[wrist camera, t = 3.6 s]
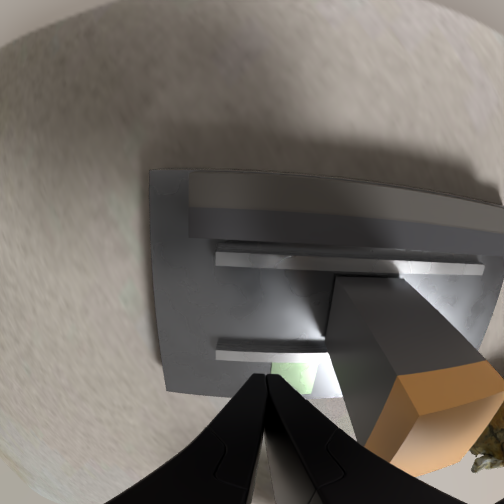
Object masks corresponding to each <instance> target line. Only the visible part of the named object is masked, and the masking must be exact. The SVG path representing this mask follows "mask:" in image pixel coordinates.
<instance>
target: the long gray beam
mask: <svg viewBox="0 0 504 504" xmlns="http://www.w3.org/2000/svg"><path fill="white" fill-rule="evenodd" d="M188 236H189V238H203V239H225V240H245V241H265V242H285V243H303V244H321V245H339V246H356V247H372V248H388V249H404V250H419V251H434V252H449V253H463V254H477V255H490V256H503V257H504V208H502V207H499V206H495V205H490V204H486V203H481V202H477V201H472V200H467V199H462V198H457V197H452V196H447V195H441V194H436V193H430V192H424V191H418V190H412V189H406V188H399V187H393V186H385V185H378V184H371V183H363V182H354V181H345V180H336V179H326V178H316V177H304V176H292V175H277V174H261V173H240V172H209V171H194V172H190V173H189V212H188Z"/></svg>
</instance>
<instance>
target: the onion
mask: <svg viewBox="0 0 504 504" xmlns="http://www.w3.org/2000/svg"><path fill="white" fill-rule="evenodd" d="M469 450H470V451H471V453H472V454H474V455H476V457H477V455H478V454H483V455H484V456H482V457H480V458H477V459H475V462H474V464H473V466H472V468H471V471H472V472H473V473H478V472H479V471H481V470H482V469H484V468H485V469H493V468H500V467H504V401H503V403H502V404H501V406H500V407H499V409H498V411H497V412H496V414H495V415H494V417H493V418H492V420H491V421H490V423H489V424H488V425H487V427H486V428H485V430H484V431H483V432H482V434H481V435H480V436H479V438H478V439H477V440H476V442H475V443H474V444H473V446H472V447H471V448H470V449H469Z"/></svg>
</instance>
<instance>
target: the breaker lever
mask: <svg viewBox="0 0 504 504" xmlns="http://www.w3.org/2000/svg"><path fill="white" fill-rule="evenodd" d="M324 343H325V345H326V348H327V351H328V354H329V357H330V360H331V363H332V366H333V369H334V371H335V374H336V377H337V380H338V383H339V386H340V389H341V392H342V395H343V398H344V401H345V404H346V407H347V410H348V414H349V417H350V420H351V423H352V426H353V429H354V432H355V436H356V439H357V442H358V443H359V444H361V445H362V446H364V447H365V448H366V449H368V450H370V451H371V452H373V453H374V454H376V455H377V456H379V457H381V458H382V459H384V460H386V461H387V462H389V463H391V464H392V465H394V466H396V467H398V468H399V469H401V470H403V471H404V472H406V473H408V474H410V475H412V476H413V477H417V476H420V475H424V474H427V473H430V472H433V471H436V470H439V469H442V468H445V467H447V466H450V465H453V464H455V463H458V462H460V460H461V459H462V458H463V457H464V456H465V454H466V453H467V451H469V449H470V448H471V447H472V446H473V444H474V443H475V442H476V440H477V439H478V438H479V436H480V435H481V434H482V432H483V431H484V430H485V428H486V427H487V425H488V424H489V423H490V421H491V420H492V418H493V417H494V415H495V414H496V412H497V411H498V409H499V407H500V406H501V404H502V403H503V401H504V379H503V378H502V377H501V376H500V375H499V373H498V372H497V371H496V370H495V369H494V368H493V367H492V366H491V365H490V363H489V362H488V361H487V360H486V359H485V358H484V357H483V356H482V355H481V354H480V353H479V352H478V351H477V349H476V348H475V347H474V346H473V345H472V344H471V343H470V342H469V341H468V340H467V339H466V338H465V337H464V336H463V335H462V334H461V333H460V332H459V331H458V330H457V329H456V328H455V327H454V326H453V325H452V324H451V323H450V322H449V321H448V320H447V319H446V318H445V317H444V316H443V315H442V314H441V313H440V312H439V311H438V310H437V309H436V308H435V307H434V306H433V305H432V304H431V303H430V302H428V301H427V300H426V299H425V298H424V297H423V296H422V295H421V294H420V293H419V292H418V291H417V290H416V289H415V288H413V287H412V286H411V285H410V284H409V283H408V282H407V281H406V280H405V279H404V278H371V277H338V276H336V280H335V286H334V293H333V298H332V304H331V310H330V315H329V321H328V326H327V331H326V336H325V341H324Z"/></svg>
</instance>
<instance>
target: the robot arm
mask: <svg viewBox="0 0 504 504" xmlns="http://www.w3.org/2000/svg"><path fill="white" fill-rule="evenodd" d="M263 433H264V437H265V444H266V450H267V456H268V462H269V467H270V473H271V479H272V485H273V490H274V496H275V502H276V504H467V503H465V502H463V501H460V500H458V499H456V498H454V497H452V496H450V495H448V494H446V493H444V492H442V491H440V490H438V489H436V488H434V487H432V486H430V485H428V484H426V483H424V482H423V481H421V480H419V479H417V478H415V477H413V476H412V475H410V474H408V473H406V472H404V471H403V470H401V469H399V468H398V467H396V466H394V465H392V464H391V463H389V462H387V461H386V460H384V459H382V458H381V457H379V456H377V455H376V454H374V453H373V452H371V451H370V450H368V449H366V448H365V447H364V446H362V445H361V444H359V443H358V442H357V441H355V440H354V439H353V438H351V437H350V436H349V435H348V434H346V433H345V432H344V431H343V430H342V429H340V428H338V427H337V426H336V425H335V424H334V423H333V422H332V421H330V420H329V419H328V418H327V417H326V416H325V415H324V414H322V413H321V412H320V411H319V410H318V409H317V408H316V407H315V406H313V405H312V404H311V403H310V402H309V401H308V400H307V399H306V398H304V397H303V396H302V395H301V394H300V393H299V392H298V391H297V390H296V389H295V388H294V387H292V386H291V385H290V384H289V383H288V382H287V381H286V380H285V379H284V378H283V377H282V376H281V375H279V374H267V375H265V374H263V373H253V374H252V375H251V376H250V377H249V378H248V380H247V381H246V382H245V383H244V384H243V386H242V387H241V388H240V389H239V390H238V392H237V393H236V394H235V395H234V396H233V397H232V399H231V400H230V401H229V402H228V403H227V404H226V406H225V407H224V408H223V409H222V410H221V411H220V412H219V413H218V415H217V416H216V417H215V418H214V419H213V420H212V421H211V422H210V424H209V425H208V426H207V427H206V428H205V429H204V430H203V431H202V432H201V433H200V434H199V435H198V436H197V437H196V438H195V439H194V440H193V441H192V442H191V443H190V444H189V445H188V446H186V447H185V448H184V449H183V450H182V451H180V452H179V453H178V454H177V455H175V456H174V457H173V458H171V459H170V460H169V461H167V462H166V463H164V464H163V465H162V466H160V467H159V468H157V469H156V470H155V471H153V472H152V473H150V474H149V475H148V476H146V477H145V478H143V479H142V480H140V481H139V482H137V483H136V484H134V485H133V486H131V487H130V488H128V489H127V490H125V491H124V492H122V493H120V494H119V495H117V496H116V497H114V498H112V499H111V500H109V501H108V502H106V503H104V504H251V501H252V496H253V491H254V486H255V480H256V475H257V469H258V464H259V458H260V452H261V446H262V440H263ZM495 504H504V498H503V499H502V500H500V501H498V502H497V503H495Z"/></svg>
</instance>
